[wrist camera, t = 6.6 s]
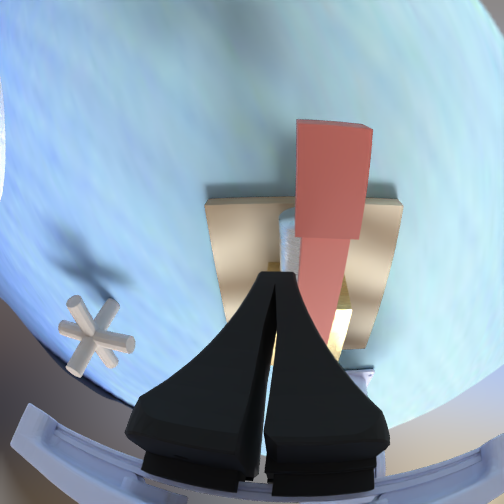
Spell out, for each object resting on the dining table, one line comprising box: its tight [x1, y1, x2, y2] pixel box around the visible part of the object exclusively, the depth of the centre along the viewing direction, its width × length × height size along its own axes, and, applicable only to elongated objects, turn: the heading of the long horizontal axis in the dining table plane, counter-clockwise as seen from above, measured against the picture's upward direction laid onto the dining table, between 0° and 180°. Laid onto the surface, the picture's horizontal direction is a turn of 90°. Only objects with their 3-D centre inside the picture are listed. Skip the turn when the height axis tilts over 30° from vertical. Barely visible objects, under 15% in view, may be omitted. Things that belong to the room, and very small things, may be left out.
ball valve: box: [267, 207, 352, 365], centre depth 20 cm, size 16×6×7 cm, turn 4°
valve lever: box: [295, 119, 373, 345], centre depth 13 cm, size 15×3×1 cm, turn 2°
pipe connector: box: [58, 295, 135, 377], centre depth 24 cm, size 10×10×10 cm
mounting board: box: [204, 196, 403, 350], centre depth 23 cm, size 16×14×1 cm
